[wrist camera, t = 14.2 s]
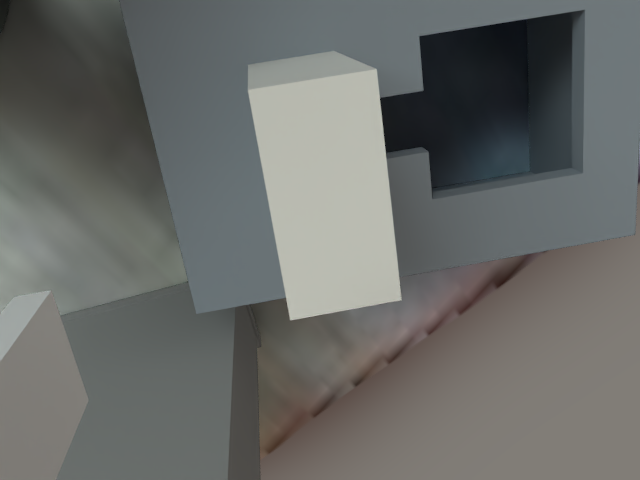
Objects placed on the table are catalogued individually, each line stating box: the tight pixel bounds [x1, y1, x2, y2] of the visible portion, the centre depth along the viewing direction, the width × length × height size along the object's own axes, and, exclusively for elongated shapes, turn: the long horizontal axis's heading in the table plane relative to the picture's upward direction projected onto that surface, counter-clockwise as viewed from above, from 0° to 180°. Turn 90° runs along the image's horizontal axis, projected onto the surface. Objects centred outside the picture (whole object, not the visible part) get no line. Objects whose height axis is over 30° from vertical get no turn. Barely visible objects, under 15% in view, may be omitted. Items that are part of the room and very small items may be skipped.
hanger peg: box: [248, 51, 402, 320], centre depth 27 cm, size 6×8×16 cm
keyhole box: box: [119, 0, 640, 314], centre depth 35 cm, size 24×16×11 cm, turn 98°
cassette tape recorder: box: [56, 282, 261, 480], centre depth 32 cm, size 14×6×25 cm, turn 103°
